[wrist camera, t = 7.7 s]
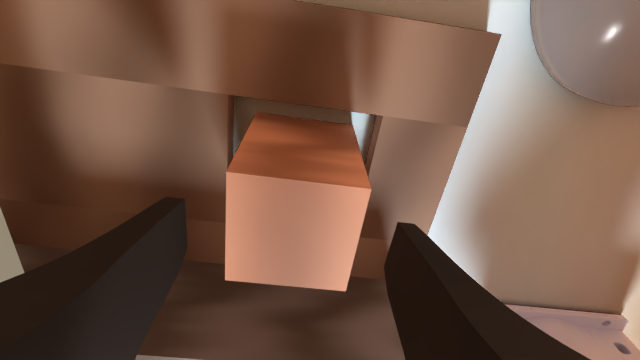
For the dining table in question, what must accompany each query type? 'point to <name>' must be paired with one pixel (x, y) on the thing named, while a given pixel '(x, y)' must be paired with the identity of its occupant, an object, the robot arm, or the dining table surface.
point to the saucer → (591, 47)
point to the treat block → (295, 203)
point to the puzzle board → (224, 147)
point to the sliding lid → (8, 253)
